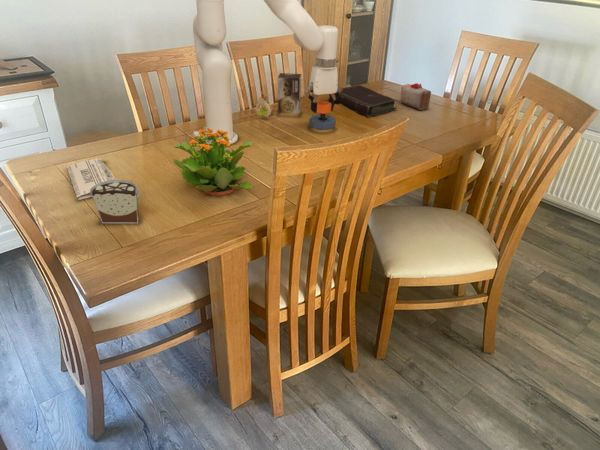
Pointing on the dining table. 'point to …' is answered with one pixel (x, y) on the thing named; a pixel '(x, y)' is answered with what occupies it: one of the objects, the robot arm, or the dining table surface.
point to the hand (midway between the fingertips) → (322, 110)
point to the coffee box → (289, 93)
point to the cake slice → (116, 201)
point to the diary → (365, 101)
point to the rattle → (263, 103)
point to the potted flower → (213, 164)
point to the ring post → (322, 119)
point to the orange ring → (323, 107)
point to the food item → (415, 96)
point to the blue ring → (322, 122)
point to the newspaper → (88, 176)
